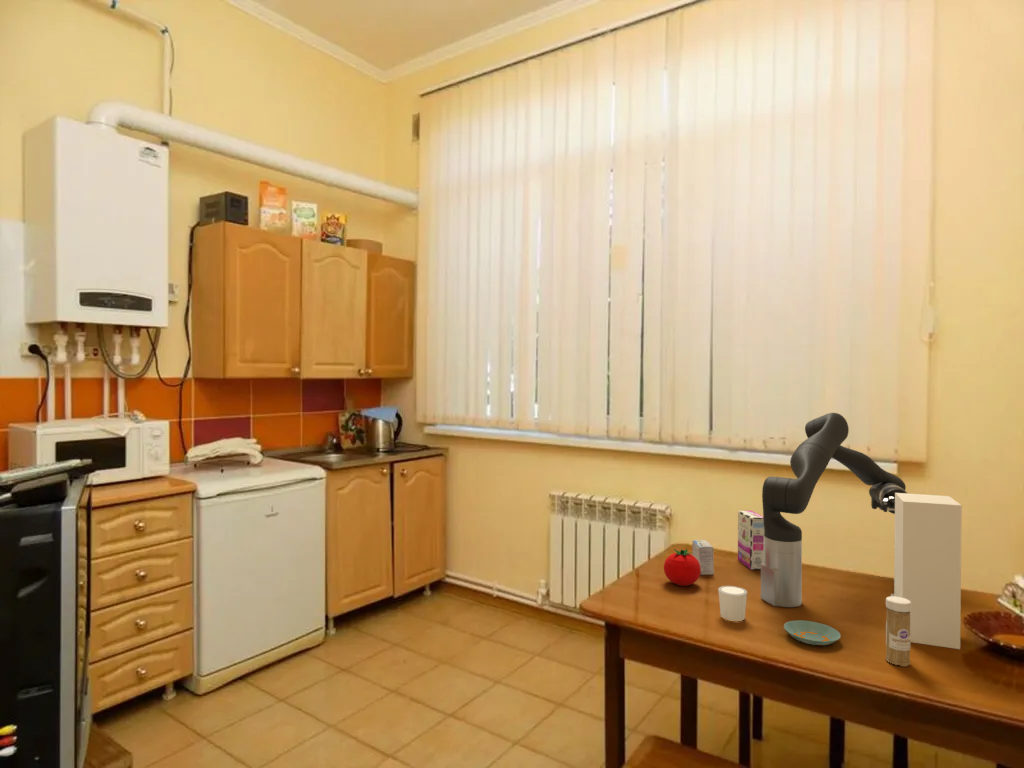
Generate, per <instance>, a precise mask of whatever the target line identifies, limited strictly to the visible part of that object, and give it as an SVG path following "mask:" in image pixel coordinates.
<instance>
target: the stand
mask: <svg viewBox="0 0 1024 768" xmlns="http://www.w3.org/2000/svg"><path fill="white" fill-rule="evenodd" d="M907 493H908V492H907ZM907 493H895V514H894V568H893V569H894V570H893V571H894V576H893V585H894V587H893V588H894V589H893V594H894V596H896V597H902V598H905V599H908V600H909V601H910V602H911V611H910V643H913V644H921V645H928V646H934V647H941V648H942V647H943V648H949V649H954V650H961V619H962V618H961V616H962V615H961V612H962V611H961V610H962V609H961V607H962V606H961V604H962V601H961V599H962V595H961V594H962V590H961V589H962V511H963V510H962V508H963V506H962V504H961V503H959V502H958V501H957V500H955V499H953V498H952V497H951V496H950V495H936V494H924V493H923V494H918V493H908V494H907Z"/></svg>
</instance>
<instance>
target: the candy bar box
mask: <svg viewBox="0 0 1024 768" xmlns="http://www.w3.org/2000/svg"><path fill="white" fill-rule="evenodd" d="M737 514H738V515H737V560H738V562H740V563H741V564H742V563H743V566H745V567H746V566H747V567H746V568H748V569H749V570H750V571H761V564H763V563H764V524H763V515H761V514H758V512H755V511H754V510H738V511H737Z"/></svg>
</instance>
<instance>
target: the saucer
mask: <svg viewBox="0 0 1024 768" xmlns="http://www.w3.org/2000/svg"><path fill="white" fill-rule="evenodd" d="M783 629H784V630H785V631H786V632H787V633H788V634H789V635H790V636H791V637H792V638H793V639H795V640H797V641H798V642H800V641H801V642H800V643H803V644H805V643H806V645H809V644H811V645H810V646H815V645H823V646H827V645H830V644H834V643H835V642H837V641H838V640H840V638H841V636H842V635H841V633H840V632H839V631H838V630H837V629H836V628H833V627H832V626H830V625H827V624H824V623H820V622H817V621H810V620H801V619H799V620H798V619H797V620H790V621H786V622H785V623H784V624H783ZM805 631H806V633H805V635H802V636H803V637H805V638H801V637H800V636H796V635H794V633H796V632H797V633H796V634H798V635H801V634H802V633H800V632H805ZM807 632H813V633H817V634H811V633H807ZM822 636H825V637H827V638H828V639H829V641H822V640H824V639H825V638H822Z"/></svg>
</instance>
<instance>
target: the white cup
mask: <svg viewBox="0 0 1024 768" xmlns="http://www.w3.org/2000/svg"><path fill="white" fill-rule="evenodd" d="M717 590H718V591H717V592H718V599H719V612H720V617H723V618H724V619H727V620H730V621H742V620H744V621H745V618H746V609H747V607H746V606H747V597H748V591H747V589H745V588H743V587H739V586H735V585H722V586H720V587H718V589H717ZM724 619H723V620H724ZM727 620H726V621H727ZM730 621H729V622H730ZM742 622H743V621H742Z"/></svg>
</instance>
